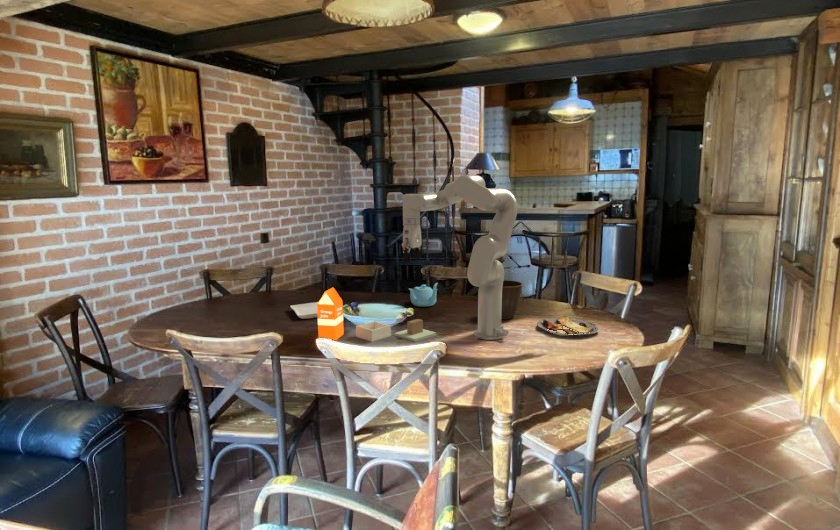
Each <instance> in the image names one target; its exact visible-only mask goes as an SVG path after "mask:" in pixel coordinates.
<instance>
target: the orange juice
mask: <svg viewBox="0 0 840 530" xmlns="http://www.w3.org/2000/svg"><path fill="white" fill-rule="evenodd" d="M317 302H318V304H317V313H318V318H317V330H318V331H317V332H318V333H317V334H318V339H319V338H320V337H324V338H330V339H333V340H332V341H336V340H338V339H339V338H341V337H342V336H343V335H344V334H345V333H344V332H345V331H344V305H343V299H342V297H340V295H339V293H338V292H337V290H336V289H335V288H334V286H333V287H331V288H328V289H327V290H325V291H324V293H323V294H322V296H321V298H320V299H319V301H317Z"/></svg>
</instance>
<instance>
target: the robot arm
mask: <svg viewBox="0 0 840 530" xmlns="http://www.w3.org/2000/svg"><path fill="white" fill-rule="evenodd" d="M462 201H466V202H468V203H469V204H470V205H472V206H474V207H475V208H477V209H479V210H481V211H483V212H484V211H485V212H490V211H491V212H492V211H496V213H495V215H494V217H493V219H492V221H491V225H490V229H489V232H488V234H487V235H483V236H481V237H478V239H477V240H476V241H475V243H474V244H473V247H472V251H471V255H470V259H469V263H468V266H467V273H466V274H467V279H468V282H469V284H471V285H472V286H474V287H478V292H477V296H478V298H477V330H474V332H473V336H474V337H475V338H477V339H480V340H487V341H495V340H501V339H504V338H505V337H507V336H508V334H509V330H508V329H504V328H505V327H504V325H503V324H502V319H501V313H502V286H503V280H505V279H504V278H505V268H504V265H503V264H502V262H501V261H499V260H497V259H499V258H503V256H505V255H506V253H507V251H508V249H509V245H510V241H511V237H512V233H513V229H514V226H515V222H516V219H517V216H518V207H519V206H518V201H517V198H516V196H515V194H513V193H512V192H511V191H510V190H509V189H506V188H503V187H493V188H491V187H489V188H487V187H486V181H485V179H484V178H483V176H480V175H478V174H462V175H460V176H458V177H457V178H456V179H455V180H454V181H451V182H449V183H447V184H446V185H445V186H444V189H442V190H439V191H435V192H428V193H405V194H403V195H402V226H403V230H402V231H403V232H402V243H401V250H402V253H403V255H402V256H403V262H405V263H411V257H413V259H416V260H418V259H419V260H420V259H421V249H422V248H421V246H422V243H423V240H422V230H421V229H422V228H421V212H428V211H437V210H440V209H443V208H447V207H449V206H451V205H454V204H456V203H459V202H462ZM411 249H412V251H413V254H412V255H413V256H411Z"/></svg>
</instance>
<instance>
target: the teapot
mask: <svg viewBox="0 0 840 530" xmlns="http://www.w3.org/2000/svg"><path fill="white" fill-rule="evenodd" d="M438 284H439V283H438V282H435V283H434V285H433V287H430V286H427V284H421V285H420V286H415V287H413V288H409V287H408V288H407V289H408V290H409V291H410V294H409V296H410V302H411V304H412V305H413V306H415V307H425V308H426V307H431V306H434V305H435V304H436V303H437V293H438V292H437V291H438V290H439V289H438V288H437V286H438Z"/></svg>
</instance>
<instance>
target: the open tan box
mask: <svg viewBox="0 0 840 530" xmlns="http://www.w3.org/2000/svg"><path fill="white" fill-rule="evenodd" d="M355 334H356V338H358V339H361V340H364V341H368V342H371V343H374V342H378V341H381V340H384V339H388V338H391V337H392V336H391V335H392V325H391V324H387V323H384V322H383V323H382V322H380V321H377V320H373V321H370V322H365V323H362V324H358V325H355Z"/></svg>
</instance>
